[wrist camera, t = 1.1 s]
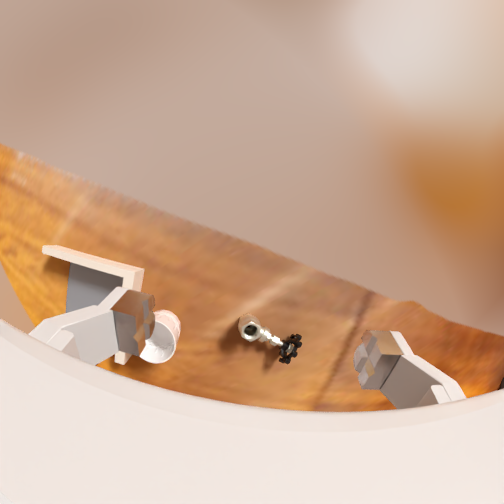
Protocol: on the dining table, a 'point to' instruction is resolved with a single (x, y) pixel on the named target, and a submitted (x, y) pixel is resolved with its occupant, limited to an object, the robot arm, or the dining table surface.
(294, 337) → the valve
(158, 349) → the white cup
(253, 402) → the dining table surface
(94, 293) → the mat
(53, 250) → the corner walls
